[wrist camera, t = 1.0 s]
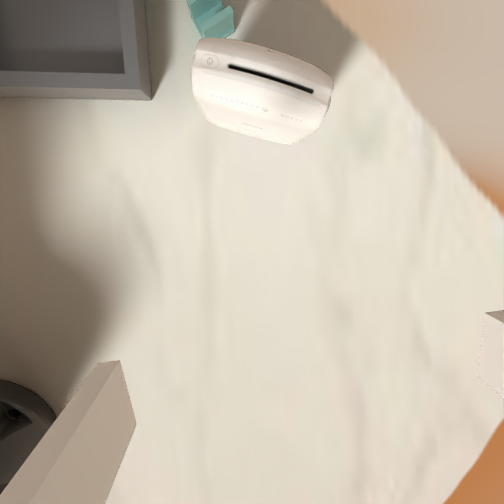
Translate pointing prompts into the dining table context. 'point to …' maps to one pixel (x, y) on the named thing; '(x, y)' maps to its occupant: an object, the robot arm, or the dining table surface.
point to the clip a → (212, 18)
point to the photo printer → (259, 90)
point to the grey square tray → (74, 49)
